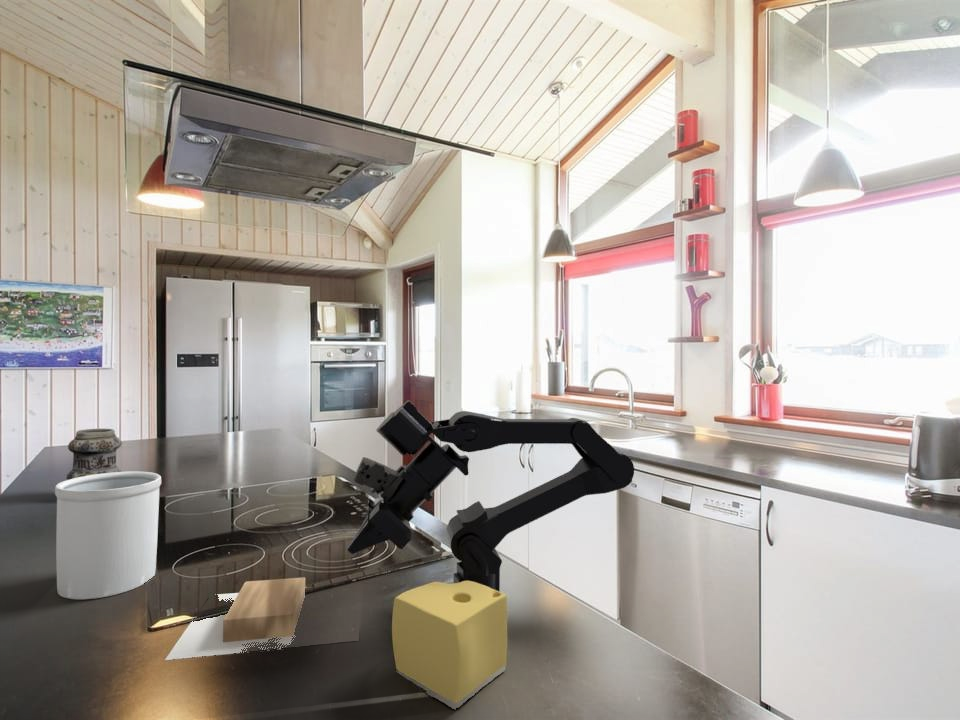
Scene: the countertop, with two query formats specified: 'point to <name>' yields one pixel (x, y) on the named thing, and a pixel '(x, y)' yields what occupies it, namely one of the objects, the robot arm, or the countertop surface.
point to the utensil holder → (106, 533)
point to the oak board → (265, 610)
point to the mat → (213, 638)
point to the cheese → (450, 636)
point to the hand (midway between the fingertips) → (349, 551)
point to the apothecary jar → (94, 452)
